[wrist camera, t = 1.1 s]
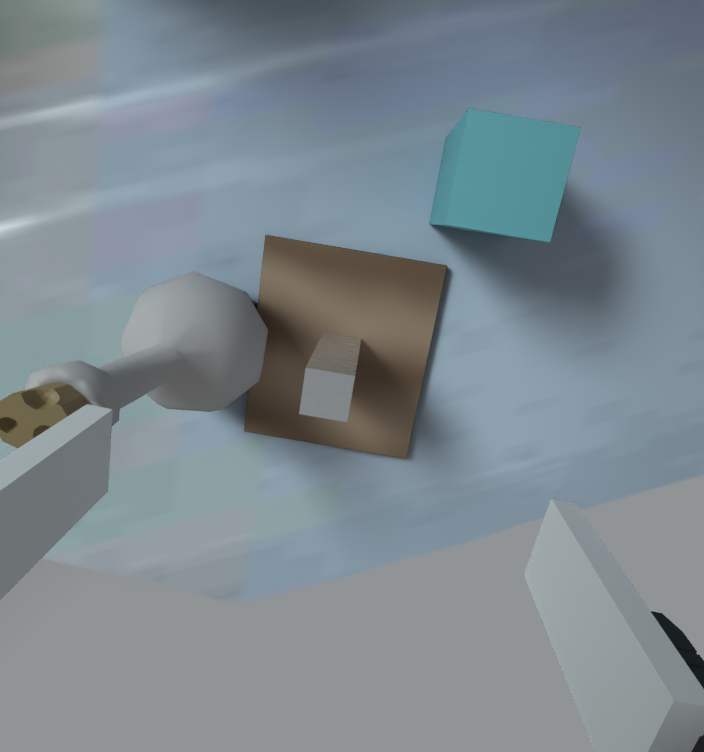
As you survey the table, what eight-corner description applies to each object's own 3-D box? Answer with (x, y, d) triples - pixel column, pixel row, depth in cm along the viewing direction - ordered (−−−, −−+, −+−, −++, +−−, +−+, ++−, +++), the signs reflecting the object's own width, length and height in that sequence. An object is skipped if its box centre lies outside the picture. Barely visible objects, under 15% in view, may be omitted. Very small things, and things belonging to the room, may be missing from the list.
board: (267, 235, 34) (265, 235, 34) (445, 265, 34) (446, 266, 34) (246, 428, 38) (244, 431, 38) (405, 455, 38) (406, 458, 38)
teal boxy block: (446, 137, 32) (469, 108, 24) (529, 151, 32) (580, 127, 24) (429, 223, 33) (445, 224, 25) (508, 237, 33) (549, 242, 25)
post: (323, 332, 35) (305, 367, 27) (361, 338, 35) (355, 376, 27) (318, 368, 36) (299, 413, 27) (355, 374, 36) (347, 422, 27)
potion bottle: (176, 251, 35) (-73, 271, 18) (297, 301, 34) (162, 370, 17) (146, 366, 37) (-96, 480, 20) (258, 413, 37) (107, 570, 20)
